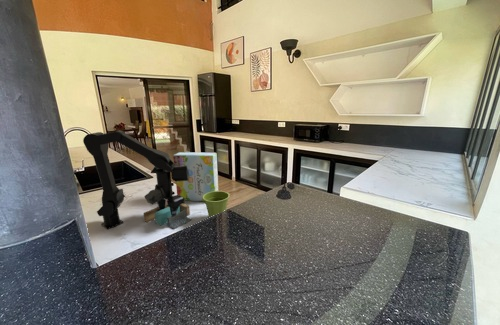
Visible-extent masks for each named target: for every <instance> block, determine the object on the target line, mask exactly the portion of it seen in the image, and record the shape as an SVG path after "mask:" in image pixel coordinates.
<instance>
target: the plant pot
mask: <svg viewBox="0 0 500 325" xmlns="http://www.w3.org/2000/svg"><path fill="white" fill-rule="evenodd" d="M230 195H231V194H230V193H229V192H226V191H223V190H218V191H213V192H209V193H206V194H205V195H203V199H204V201H203V202H204V204H205V207H206V211H207V214H208V218H209V217H211V216H213V215H216V214H218V213H221V212H223V211H224V210H226V211H227V207H228V202H229V198H230Z"/></svg>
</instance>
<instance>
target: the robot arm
mask: <svg viewBox="0 0 500 325" xmlns="http://www.w3.org/2000/svg"><path fill="white" fill-rule="evenodd" d="M82 142H83V144H84V147H85V148H86V151H87V152H88V153H89V154H90V155H91V156H92V157H93V161H94V163H95V167H96V171H97V173H98V177H99V181H100V183H101V184H100V185H101V187H102V195H101V204H102V206H101V207H100V208H99V209H98V210H97V211H96V213H97V215H98V216H99V217H102V219H103V220H102V221H103V222H101V226H102V227H104V228H105V229H106V230H109V229H112V228H114V227H116V226H119V225H121V224H123V223H124V221H123V220H122V219H121V218H120V213H119V209H118V208H119V207H121V204H122V203H123V202H124V199H125V197H126V196H125V194H124V188H119V187H117V185H116V184H117V183H116V181H115V180H116V179H115V176H114V173H113V170H112V167H111V166H112V165H111V162H110V159H109V155H108V152H109V147H110V146H109V144H110V143H116V142H117V143H119V144H120V145H122V146H124V147H126V148H127V149H129V150H132V151H133V152H135V153H136V154H138V155H141V156H142V157H144V158H146V160H147V161H148V162H149V163H150V164H151V165H153V166H154V167H153V169H152V170H151V171H150V174H155V176H156V184H155V186H154V189H152V190H149V191H148V193H146V194H144V198H145V201H146V202H147V203H148V204H150V205H155V204H157V207H159V208H160V210H162V209H165V204H168V205H166V206H168V207H170V211H171V215H174V214H176V212H177V210H178V207H179V206H180V204H186V203H185V201H186V200H185V199H184V197H182V196H179V195H177V194H176V193H175V191H173V186H175V185H174V184H175V183H176V181H189V171H188V168H187V165H183V166H176V165H175V164H174V160H172V159H171V157H170V156H171V155H170V154H168V152H165V151H162V150H160V149H157V148H156V149H155V148H152V147H151V146H148V145H146V144H145V143H143V142H141V141H140V140H138V139H136V138H134V137H133V136H131V135H129V134H127V133H126V132H125V131H123V130H116V131H111V132H107V133H104V132H101V131H97V132H93V133H88V134H86V135H85V136H84V137H83V139H82ZM172 181H174V182H175V183H174V182H172ZM175 194H176V195H175ZM173 195H174V196H173Z"/></svg>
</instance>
